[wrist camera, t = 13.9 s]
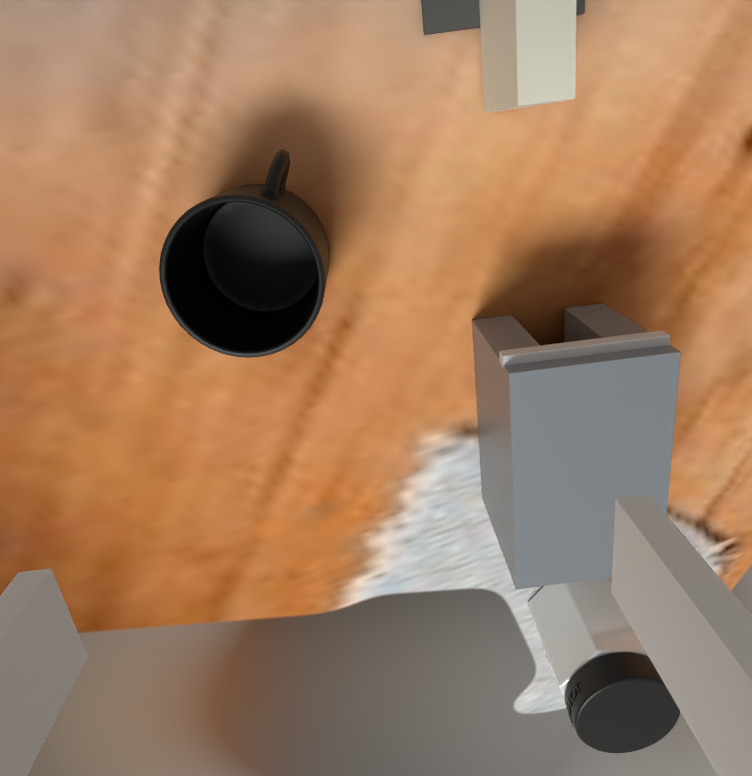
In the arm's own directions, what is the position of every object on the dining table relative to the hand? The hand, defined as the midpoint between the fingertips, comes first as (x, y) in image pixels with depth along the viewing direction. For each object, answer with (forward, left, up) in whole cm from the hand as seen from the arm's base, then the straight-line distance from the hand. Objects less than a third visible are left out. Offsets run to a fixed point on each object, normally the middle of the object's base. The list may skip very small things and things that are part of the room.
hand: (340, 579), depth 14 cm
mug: (-5, +4, -32) cm, 33 cm away
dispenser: (+14, -12, -32) cm, 37 cm away
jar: (+17, -33, -32) cm, 49 cm away
